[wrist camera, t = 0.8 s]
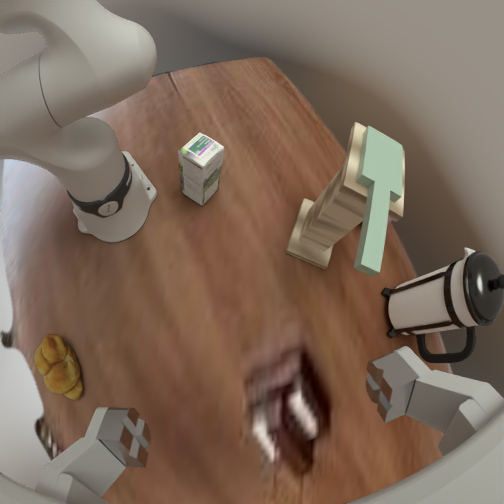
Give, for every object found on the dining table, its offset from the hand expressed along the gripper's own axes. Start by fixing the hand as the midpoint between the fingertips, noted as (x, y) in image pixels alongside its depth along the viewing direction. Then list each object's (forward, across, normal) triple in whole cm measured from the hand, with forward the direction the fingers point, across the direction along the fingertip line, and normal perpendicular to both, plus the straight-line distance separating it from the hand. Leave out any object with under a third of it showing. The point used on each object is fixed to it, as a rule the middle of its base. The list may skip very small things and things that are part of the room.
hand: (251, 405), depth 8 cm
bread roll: (+29, +38, +19) cm, 52 cm away
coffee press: (+39, -34, +30) cm, 59 cm away
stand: (+48, -16, +9) cm, 51 cm away
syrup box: (+52, +5, -5) cm, 52 cm away
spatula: (+24, -18, -2) cm, 30 cm away
